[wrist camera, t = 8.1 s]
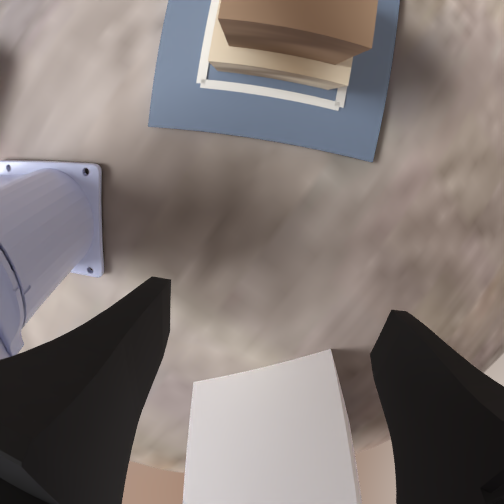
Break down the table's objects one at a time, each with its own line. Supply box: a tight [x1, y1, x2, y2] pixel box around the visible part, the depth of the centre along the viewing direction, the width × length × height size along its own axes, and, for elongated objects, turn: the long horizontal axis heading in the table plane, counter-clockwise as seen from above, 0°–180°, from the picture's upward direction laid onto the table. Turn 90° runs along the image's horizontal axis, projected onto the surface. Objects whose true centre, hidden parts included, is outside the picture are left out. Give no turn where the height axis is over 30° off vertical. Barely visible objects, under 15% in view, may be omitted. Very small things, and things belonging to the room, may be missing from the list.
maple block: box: [208, 0, 353, 90], centre depth 12 cm, size 6×6×4 cm
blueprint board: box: [148, 0, 400, 162], centre depth 14 cm, size 13×13×1 cm
